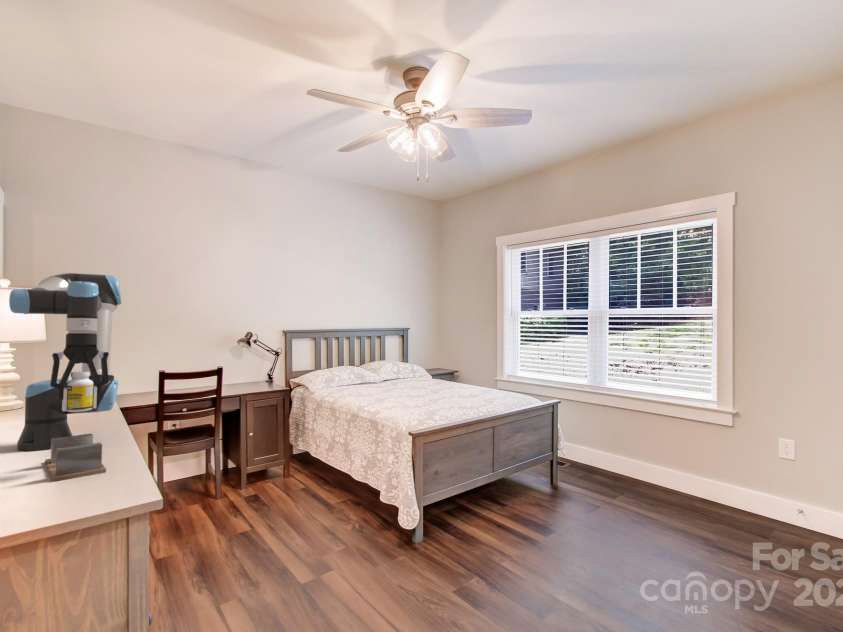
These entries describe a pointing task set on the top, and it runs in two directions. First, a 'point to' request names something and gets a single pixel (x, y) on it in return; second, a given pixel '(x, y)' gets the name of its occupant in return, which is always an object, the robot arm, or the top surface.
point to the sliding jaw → (68, 443)
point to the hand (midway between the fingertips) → (79, 409)
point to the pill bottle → (80, 392)
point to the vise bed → (76, 462)
